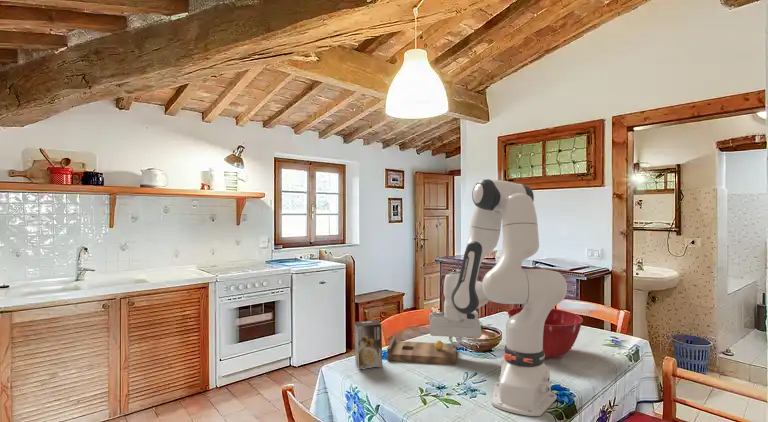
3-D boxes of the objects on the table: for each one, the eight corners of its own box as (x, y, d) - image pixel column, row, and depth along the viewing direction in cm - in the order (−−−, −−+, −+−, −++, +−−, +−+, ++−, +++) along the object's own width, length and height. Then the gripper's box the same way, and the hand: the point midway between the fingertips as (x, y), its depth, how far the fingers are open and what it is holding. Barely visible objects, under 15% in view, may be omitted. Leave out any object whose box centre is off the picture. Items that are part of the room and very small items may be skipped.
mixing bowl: (568, 342, 177) (568, 306, 177) (595, 367, 148) (595, 325, 148) (501, 340, 180) (501, 305, 180) (516, 365, 151) (516, 323, 151)
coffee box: (378, 361, 156) (378, 319, 156) (382, 367, 149) (382, 324, 149) (354, 364, 153) (354, 321, 153) (358, 370, 147) (357, 326, 147)
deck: (455, 349, 168) (455, 339, 168) (455, 364, 152) (455, 352, 152) (393, 346, 172) (393, 336, 172) (387, 360, 157) (387, 348, 157)
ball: (441, 351, 159) (441, 342, 159) (433, 350, 160) (433, 341, 160) (444, 349, 162) (444, 340, 162) (436, 347, 164) (436, 338, 164)
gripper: (428, 313, 159) (428, 348, 159) (481, 315, 155) (482, 351, 155) (429, 309, 165) (429, 343, 165) (480, 311, 161) (481, 346, 161)
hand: (455, 347), depth 160 cm, fingers closed
